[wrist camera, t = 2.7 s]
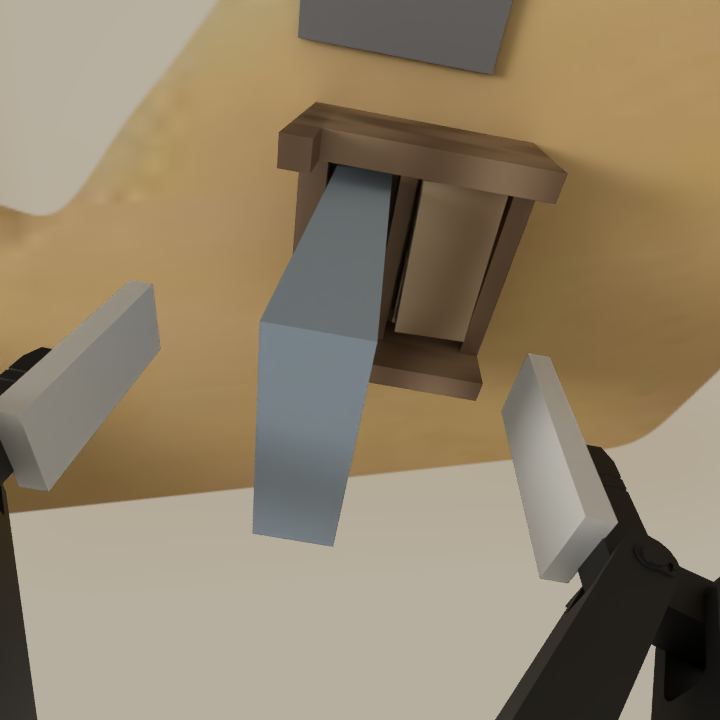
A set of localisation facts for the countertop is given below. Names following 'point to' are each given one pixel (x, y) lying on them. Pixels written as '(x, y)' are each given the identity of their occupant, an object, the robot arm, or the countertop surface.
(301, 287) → the blue rectangular block
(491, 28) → the mat
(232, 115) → the countertop surface
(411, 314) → the offcut top
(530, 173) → the rack
